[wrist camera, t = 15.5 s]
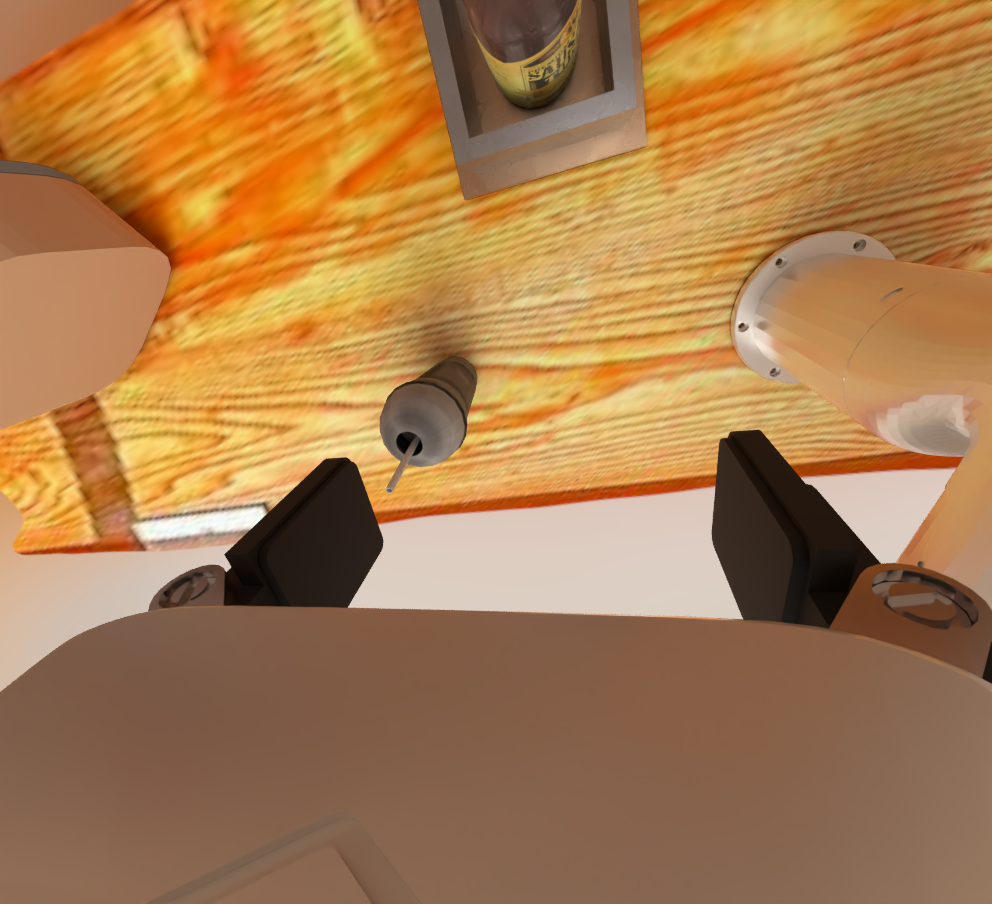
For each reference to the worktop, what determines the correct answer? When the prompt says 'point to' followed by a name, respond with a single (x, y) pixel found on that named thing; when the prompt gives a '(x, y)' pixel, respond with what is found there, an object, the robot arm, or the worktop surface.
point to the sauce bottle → (528, 46)
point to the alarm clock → (67, 291)
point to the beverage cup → (428, 415)
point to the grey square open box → (539, 132)
